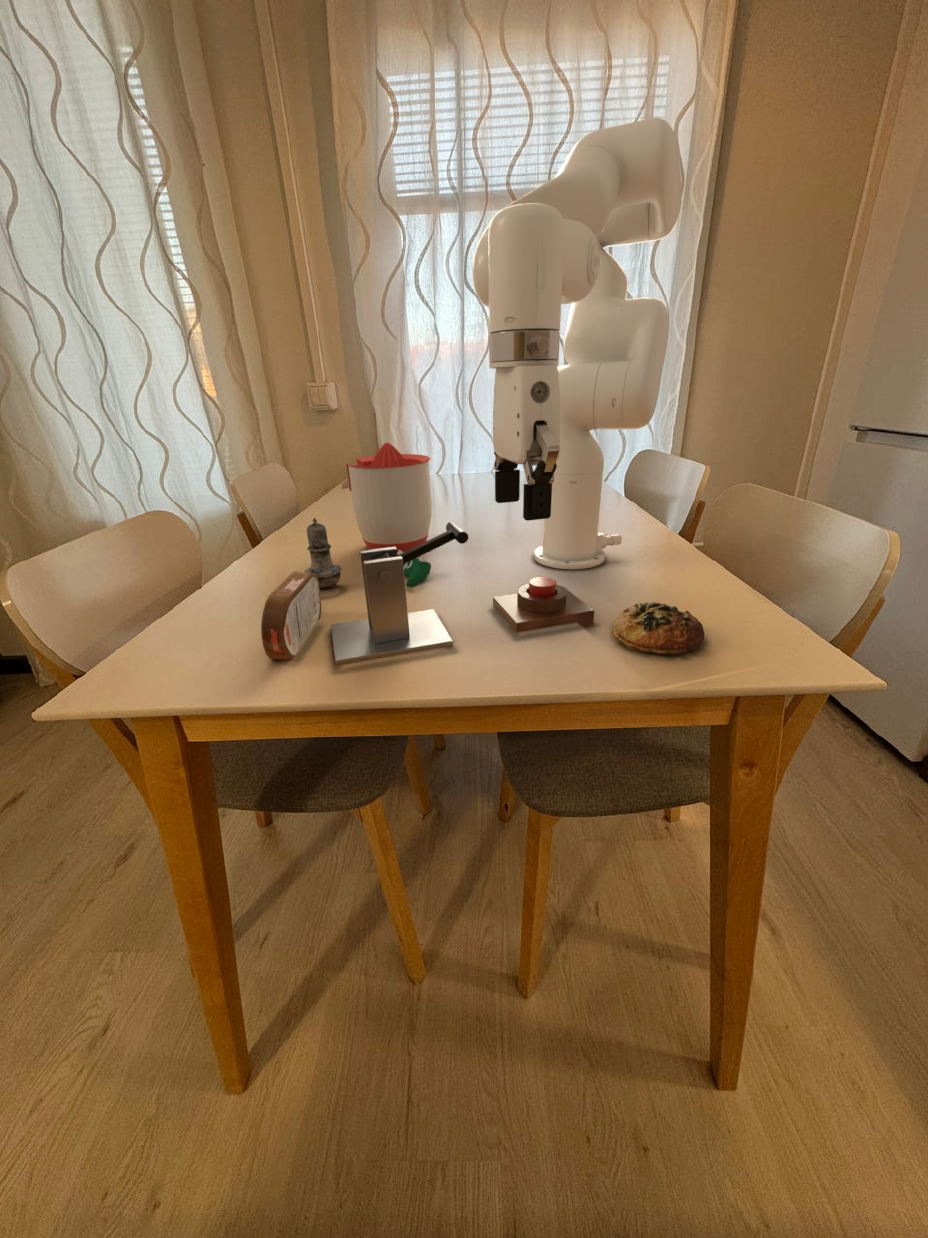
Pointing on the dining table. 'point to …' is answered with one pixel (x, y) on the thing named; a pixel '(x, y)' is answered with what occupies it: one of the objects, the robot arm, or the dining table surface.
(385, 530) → the citrus juicer
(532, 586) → the button
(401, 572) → the bracket
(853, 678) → the dining table surface
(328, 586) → the salt shaker
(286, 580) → the tin
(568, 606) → the button block
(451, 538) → the lever
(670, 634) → the bread roll
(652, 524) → the dining table surface
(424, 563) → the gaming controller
